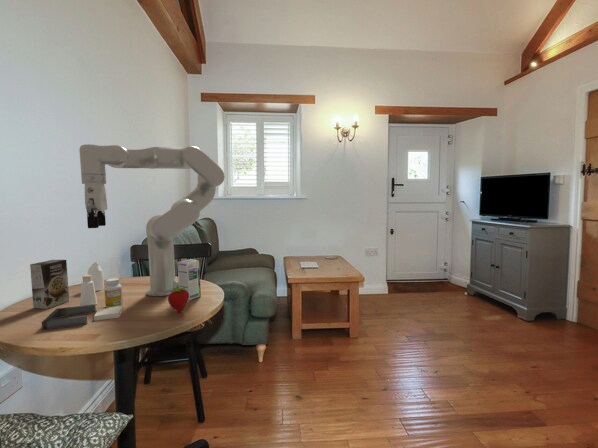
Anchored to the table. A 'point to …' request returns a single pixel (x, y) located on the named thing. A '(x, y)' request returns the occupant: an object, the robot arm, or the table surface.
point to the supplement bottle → (113, 293)
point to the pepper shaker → (87, 291)
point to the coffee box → (49, 283)
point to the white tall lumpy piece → (96, 276)
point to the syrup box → (189, 277)
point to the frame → (54, 322)
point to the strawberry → (178, 299)
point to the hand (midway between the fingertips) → (97, 226)
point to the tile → (108, 313)
